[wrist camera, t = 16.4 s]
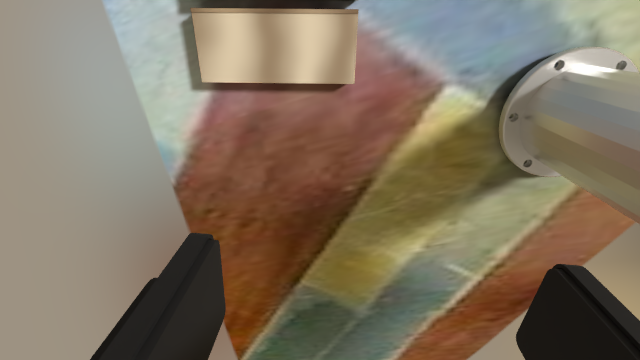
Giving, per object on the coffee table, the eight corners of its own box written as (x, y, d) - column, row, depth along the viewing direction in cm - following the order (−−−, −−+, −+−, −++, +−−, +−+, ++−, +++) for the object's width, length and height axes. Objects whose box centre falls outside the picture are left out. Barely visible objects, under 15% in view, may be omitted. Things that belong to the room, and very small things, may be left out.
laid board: (356, 10, 28) (358, 9, 26) (352, 80, 31) (354, 84, 29) (199, 9, 28) (190, 7, 26) (209, 79, 31) (201, 82, 29)
